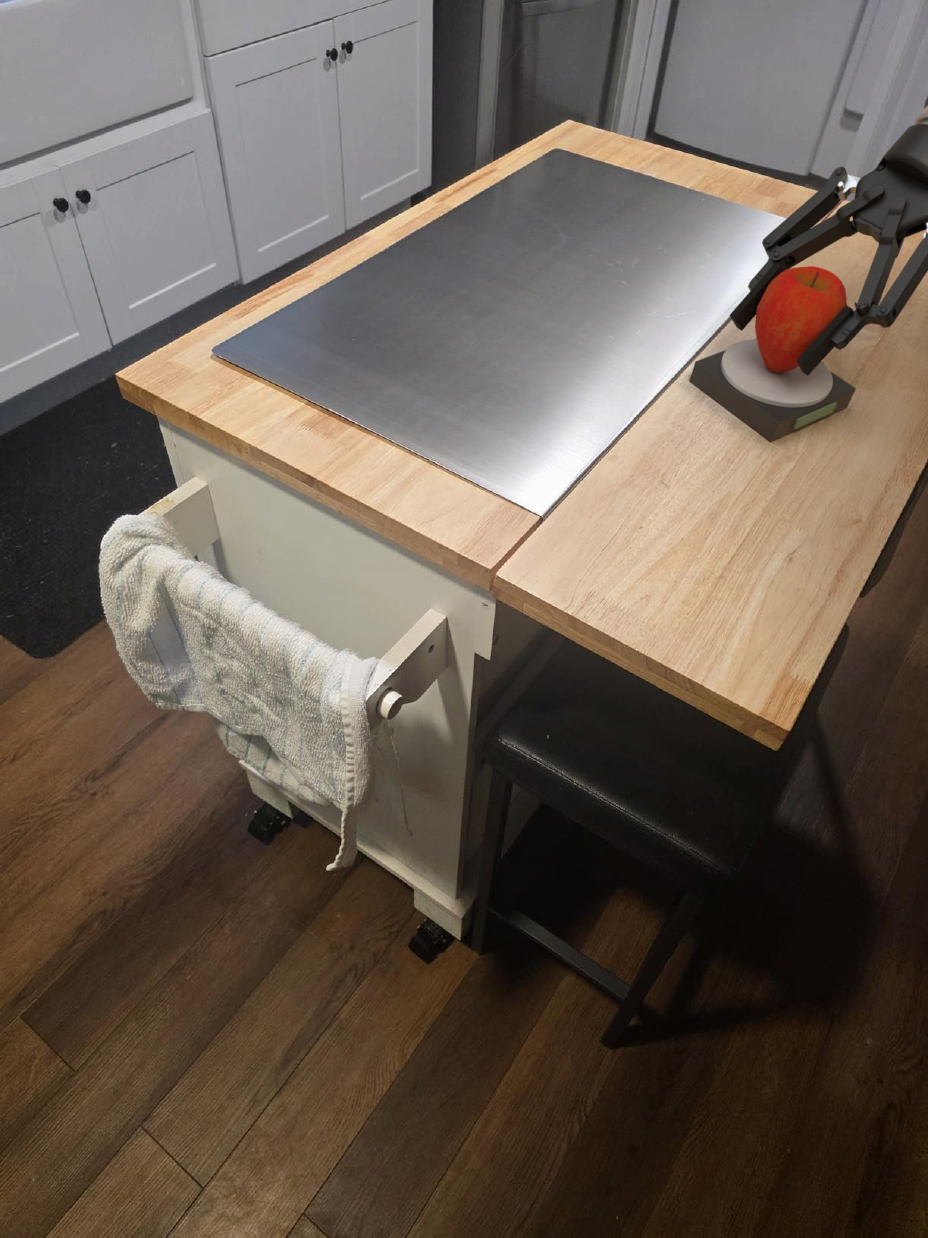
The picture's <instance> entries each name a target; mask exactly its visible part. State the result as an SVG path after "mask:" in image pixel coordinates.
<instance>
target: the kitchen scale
mask: <svg viewBox="0 0 928 1238" xmlns="http://www.w3.org/2000/svg"><path fill="white" fill-rule="evenodd" d="M689 382H690V383H691V384H693V386H695V387H696V388H697V389H699V390H700V391H702V392H703V393H704V394H706V395H707V396H708V397H710V398H711V399H712V400H714V401H715V402H717V403H718V404H719V405H720V406H721V407H723V408H725V410H727V411H729V412H730V413H731V414H732V415H734V416H735V417H737V418H738V419H739V420H740V421H742V422H743V423H744V424H746V426H749V427H750V428H751V429H752V430H754V431H755V432H756V433H758V434H759V435H761V436H762V437H763V438H764V439H766V440H767V441H769V443H771V442H774V441H776V440H779V439H781V438H783V437H785V436H787V435H789V434H792V433H794V432H796V431H798V430H800V429H803V428H805V427H807V426H810V425H812V424H814V423H817V422H819V421H820V420H823V419H825V418H827V417H830V416H832V415H834V414H837V413H839V412H841V411H843V410H845V409H847V408H848V407H849V404H850V402H851V400H852V398H853V396H854V394H855V392H856V390H857V388H856V387H855V386H853V385H852V384H851V383H849V382H848V381H845V380H844V379H843V378H841V377H840V376H838V375H837V374H836V373H834V372H832V371H831V370H830V369H829V368H828V366H826V364H825V363H824V362H823V360H822V361H821V362H820V363H819V364H818V365H817V367H816V368H815V369H814V370H813V371H812V372H811V373H810V374H809V375H808V376H807V375H806V374H804V373H803V372H802V371H801V369H800V367H799V366H798V367H796V368H795V369H793V370H790V371H787V372H781V373H778V372H772V371H769V369H768V368H767V367H766V366H765V364H764V361H763V359H762V356H761V353H760V351H759V348H758V343H757V338H754V339H746V340H742V341H739V342H736V343H734V344H732V345H730V346H729V347H728V348H727V349H724V350H722V351H719V352H716V353H714V354H712V355H709V356H706V357H703V358H700V359H698V360H696V361H695V362H694V364H693V368H692V371H691V374H690V377H689Z"/></svg>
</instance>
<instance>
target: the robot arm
mask: <svg viewBox="0 0 928 1238" xmlns="http://www.w3.org/2000/svg"><path fill="white" fill-rule="evenodd" d="M851 194H854V199H852V200H851V201H849V202H847V203H846V204H844V205H842V206H840V207H839V208H838V209H837V210H836V212H835V213H834V214H833V215H831V216H829V217H828V218H826V219H824V218H825V217H826V216H827V215H828V214H830V213H831V212H832V211H833V210H835V208H836V207H837V206H838V205H839V204H840V202H841V201H843V202H844V201H846V200H848V198H849V196H850V195H851ZM851 218H852V220H851ZM823 219H824V220H823ZM821 220H823V221H821ZM820 221H821V222H820ZM920 232H923V235H922V240H921V241H920V242H919V244H918V245H917V246H916V248H915V250H914V251H913V253H912V254H911V255H910V257H909V258H908V260H907V261H906V263H905V265H904V266H903V268H902V269H901V271H900V273H899V274H898V276H897V277H896V279H895V280H894V282H893V283H892V284H891V286H890V288H889V289H888V291H887V292H886V294H885V296H884V297H883V293H884V291H885V288H886V285H887V284H888V280H889V278H890V275H891V271H892V269H893V266H894V264H895V262H896V259H897V258H898V257H899V255H900V252H901V249H902V246H903V244H904V241H905V239H906V238H909V237H911V236H913V235H916V234H919V233H920ZM857 233H859V234H861V235H863V236H869V237H871V238H872V239H873V240H874V241H875V242H876V243H878V246H877V248H876V251H875V254H874V256H873V259H872V261H871V265H870V267H869V270H868V273H867V275H866V277H865V281H864V284H863V286H862V289H861V292H860V294H859V298H858V300H857V302H856V301H855V302H854V306H855V310H854V309H853V308H852V307H851V306H849V305H848V304H847V305H846V306H845V307H844V308H843V309H842V310H841V311H840V313H839V314H838V315H837V316H836V317H835V318H834V319H833V320H832V321H831V323H830V324H829V325H828V326H827V327H826V328H825V329H824V330H823V331H822V332H821V334H820V335H819V336H818V337H817V338H816V339H815V340H814V341H813V342H812V344H811V345H810V346H809V347H808V348H807V349H806V350H805V351H804V352H803V353H802V355H801V356H800V357H799V358H798V359H797V360H796V361H797V363H798V365H799V367H800V369H801V371H802V372H803V373H804V374H806V375H807V376H808V375H809V374H810V373H811V372H812V371H813V370H814V369H815V368H816V367H817V365H818V364H819V363H820V362H821V361H822V362H823V360H824V359H825V358H826V357H827V356H828V355H829V354H830V353H831V352H832V351H833V349H834V348H835V349H837V350H838V351H841V350H843V349H845V348H846V347H847V346H848V345H849V344H850V343H851V342H852V341H853V340H854V338H856V336H857V335H858V334H859V333H860V332H861V331H862V330H863V328H865V327H866V326H868V325H871V324H872V325H879V326H880V327H881V328H882V329H883V328H884V329H887V328H890V327H892V326H893V325H894V323H895V322H896V320H897V318H898V317H899V315H900V314H901V313H902V311H903V309H904V308H905V306H906V305H907V303H908V302H909V300H910V299H911V297H912V295H913V294H914V292H915V291H916V290H917V288H918V286H919V285H920V284H921V282H922V280H923V279H924V277H925V276H926V274H927V273H928V105H926V106H925V108H924V109H923V110H922V111H921V112H920V113H919V114H918V115H917V116H916V118H915V119H914V124H913V125H910V126H909V127H907V128H906V129H905V131H904V132H903V133H902V134H901V135H900V136H899V137H898V139H897V140H896V141H895V142H894V143H893V144H892V145H891V147H890V148H889V149H888V150H887V151H886V152H885V153H884V155H882V157H881V159H880V161H879V163H878V165H877V166H876V167H875V168H874V169H873V170H872V171H870V172H868V173H867V174H865V175H863V176H862V177H859V176H856V175H852V174H849V173H848V172H847V169H846V167H844V166H838V167H836V168H835V169H834V170H833V171H832V172H831V174H830V176H829V178H828V179H827V180H826V182H825V184H824V185H823V186H822V187H821V188H820V189H819V190H818V191H816V192H815V193H813V194H812V196H811V197H809V198H808V199H807V200H806V201H805V202H804V203H803V204H801V205H800V206H799V207H798V208H797V209H796V210H795V211H793V212H792V213H791V214H790V215H789V216H788V217H787V218H786V219H784V220H783V221H782V222H781V223H780V224H778V225H777V226H776V228H774V229H773V230H772V231H770V232H769V233H768V235H766V236H765V237H764V238H763V239H762V242H761V244H762V247H763V249H764V251H765V253H766V255H767V258H768V259H767V261H766V263H764V265H763V266H762V267H761V268H760V269H759V270H758V272H757V273H756V274H755V275H754V277H752V279H751V280H750V281H749V283H748V286H747V287H748V289H749V292H748V293H747V295H745V297H743V299H742V300H741V301H740V302H739V304H737V305H736V307H734V309H733V310H732V311H731V313H730V314H729V315H728V316H729V317H730V319H731V320H732V322H733V324H734V325H735V328H737V329H738V330H740V331H741V332H742V331H743V330H744V329H745V328H746V327H747V326H748V325H749V324H750V323H751V321H752V320H753V319H754V318H756V310H757V306H758V304H759V302H760V300H761V298H762V297H763V295H764V293H765V291H766V289H767V287H768V285H769V284H770V283H771V281H772V280H773V279H774V278H776V277H777V276H778V275H779V274H780V273H782V272H783V271H785V270H787V269H791V268H794V267H795V266H797V265H798V264H800V263H802V262H803V261H806V260H807V259H809V258H810V257H812V256H814V255H816V254H817V253H819V252H821V251H822V250H825V249H826V248H828V247H830V246H831V245H833V244H834V243H837V242H838V241H840V240H841V239H843V238H849V237H853V236H854V235H856V234H857ZM882 297H883V299H882ZM881 299H882V300H881Z"/></svg>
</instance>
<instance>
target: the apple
mask: <svg viewBox="0 0 928 1238" xmlns="http://www.w3.org/2000/svg"><path fill="white" fill-rule="evenodd" d="M846 305H847V306H848V300H847V291H846V287H845V285H844V284H843V281H842V280H841V279H840V278H839V276H837V275H836V274H835V273H834V272H833V271H830V270H829V269H828V270H827V269H825V268H822V267H818V266H813V265H812V266H811V265H810V266H809V265H808V266H798V267H795V266H794V267H791V268H790V269H787V270H785V271H783V272H782V273H780V274H779V275H778V276H777V277H776V278H774V279H773V280H772V281H771V283H770V284H769V285H768V287H767V289H766V291H765V293H764V295H763V297H762V298H761V300H760V302H759V304H758V306H757V310H756V315H755V322H754V324H755V325H754V331H755V336H756V337H755V339H757V343H758V348H759V351H760V353H761V356H762V359H763V361H764V364H765V366H766V367H767V368H768V369H769V371H772V372H778V373H781V372H787V371H790V370H793V369H795V368H796V367H798V366H799V365H798V363H797V361H796V360H797V359H798V358H799V357H800V356H801V355H802V353H803V352H804V351H805V350H806V349H807V348H808V347H809V346H810V345H811V344H812V342H813V341H814V340H815V339H816V338H817V337H818V336H819V335H820V334H821V332H822V331H823V330H824V329H825V328H826V327H827V326H828V325H829V324H830V323H831V321H832V320H833V319H834V318H835V317H836V316H837V315H838V314H839V313H840V311H841V310H842V309H843V308H844V307H845V306H846Z"/></svg>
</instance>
